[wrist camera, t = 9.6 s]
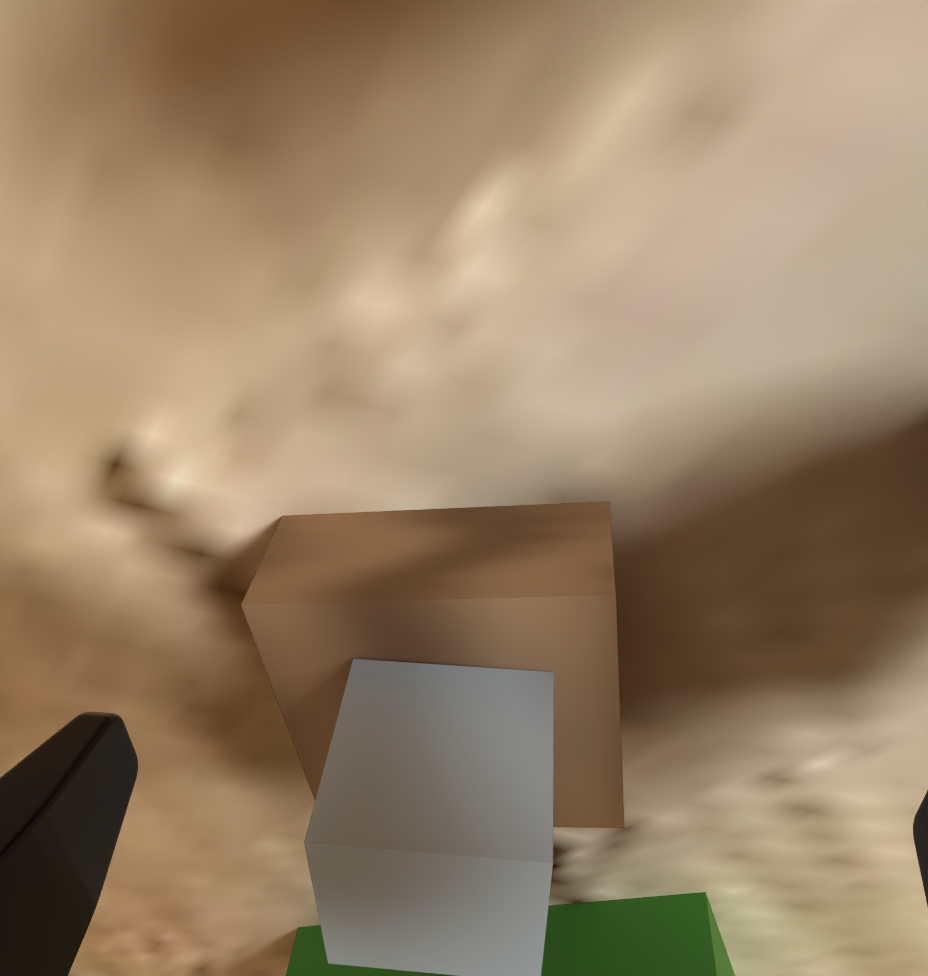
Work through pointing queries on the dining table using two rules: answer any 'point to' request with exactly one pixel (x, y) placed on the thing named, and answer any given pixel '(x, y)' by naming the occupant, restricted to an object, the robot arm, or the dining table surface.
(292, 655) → the walnut block
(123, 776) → the robot arm
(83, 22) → the dining table surface
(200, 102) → the dining table surface
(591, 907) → the hardback book
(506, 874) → the slate cube
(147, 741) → the dining table surface
